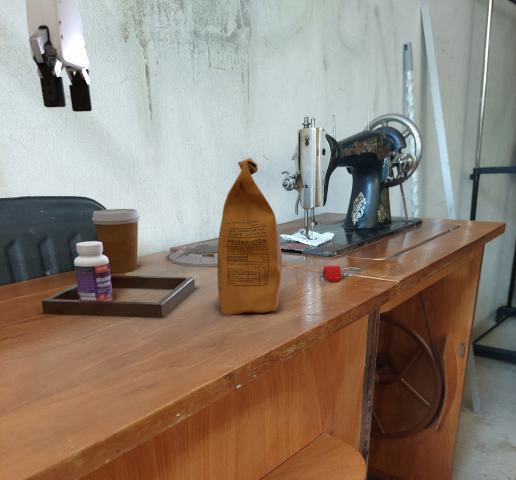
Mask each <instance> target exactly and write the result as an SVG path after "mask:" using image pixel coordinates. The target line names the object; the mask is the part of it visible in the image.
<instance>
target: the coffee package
mask: <svg viewBox="0 0 516 480" xmlns="http://www.w3.org/2000/svg"><path fill="white" fill-rule="evenodd" d="M237 165H238V167H239V168H240V172H239V174H238V176H237V177H236V179H235V181H234V182H233V184H232V185H231V188H230V189H229V191H228V193H227V195H226V198H225V201H224V204H223V209H222V215H221V216H222V217H221V222H220V227H219V233H218V240H217V241H218V242H217V246H218V252H217V254H218V266H217V288H218V289H217V294H218V295H217V296H218V304H219V309H220V311H221V313H222V315H223V316H234V315H241V314H250V313H255V314H262V313H263V314H265V313H267V312H276V311H277V310H278V307H279V300H280V295H281V286H282V284H281V283H282V270H283V269H282V268H283V263H282V262H283V260H282V259H283V258H282V249H281V242H280V234H279V227H278V222H277V218H276V214H275V212H274V210H273V208H272V206H271V205H270V203H269V202H268V200H267V198H266V197H265V195H264V194H263V192H262V191H261V189H260V188H259V186H258V185H257V183H256V182H255V180H254V178H253V176H252V175H254V174H256V173H257V172H258V170H259V166H258V164H257V163H256V162H255V160H254V159H253V158H251V157H249V158H246V159H244V160H240V161H238V162H237Z"/></svg>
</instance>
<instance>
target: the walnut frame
mask: <svg viewBox="0 0 516 480" xmlns="http://www.w3.org/2000/svg"><path fill="white" fill-rule="evenodd" d="M110 277H111V285H112V289H138V290H139V289H141V290H143V289H144V290H171V291H170V292H168V293H167V294H166V295H165V296H163V297H162V298H161V299H160V300H158V301H157V302H156V301H155V302H154V301H124V300H123V301H121V300H110V301H92V300H79V295H78V287H77V282H76V283H74V284H73V285H71V286H68V287H67V288H64V289H62V290H61V291H59V292H56V293H54V294H53V295H50V296H48V297H46V298H44V299H42V300H41V306H42V307H41V308H42V313H43V315H64V316H90V317H91V316H92V317H93V316H95V317H120V318H121V317H123V318H147V319H148V318H150V319H163V318H165V317H166V316H167V315H168V314H169V313H170V312H171V311H173V309H175V307H176V306H178V305H179V304H180V303H181V302H182V301H183V300H184V299H185V298H187V297H188V296H189V295H190V294H191V293H192V292H193V291H194V290H195V289H196V281H195V277H194V276H161V275H160V276H159V275H158V276H156V275H115V274H114V275H112V274H110Z"/></svg>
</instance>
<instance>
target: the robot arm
mask: <svg viewBox="0 0 516 480" xmlns="http://www.w3.org/2000/svg"><path fill="white" fill-rule="evenodd" d="M25 10H26V11H25V12H26V13H25V14H26V23H27V33H28V42H29V49H30V55H31V59H32V61H33V62H34V63H35V65H36V67H37V69H36V72H37V76H38V77H39V81H40V88H41V96H42V103H43V106H44V107H45V108H50V109H51V108H65V107H66V106H67V102H66V95H65V86H64V79H63V76H60V73H61V71H63V70H65V72H66V74H67V77H68V79H69V82H70V84H68V89H69V96H70V103H71V104H70V105H71V109H72V111H73V112H76V113H79V112H81V113H82V112H92V110H93V106H92V97H91V91H90V90H91V89H90V84H91V83H90V77H89V75H90V70H89V58H88V56H87V47H86V40H85V33H84V27H83V19H82V16H81V10H80V6H79V2H78V0H25Z"/></svg>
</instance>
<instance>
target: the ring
mask: <svg viewBox="0 0 516 480" xmlns="http://www.w3.org/2000/svg"><path fill="white" fill-rule="evenodd" d="M203 253H215V254H213V257H203ZM169 262H171V263H173V264H175V265H181V266H187V267H218V245H216V246H215V245H214V246H213V245H212V246H211V243H209V242H207V243H197V244H196V246H195V247H192V248H191V246H190V245H187V246H183V247H181V248H179V249H177V250H175V252H173V253H172V254H170V255H169Z"/></svg>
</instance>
